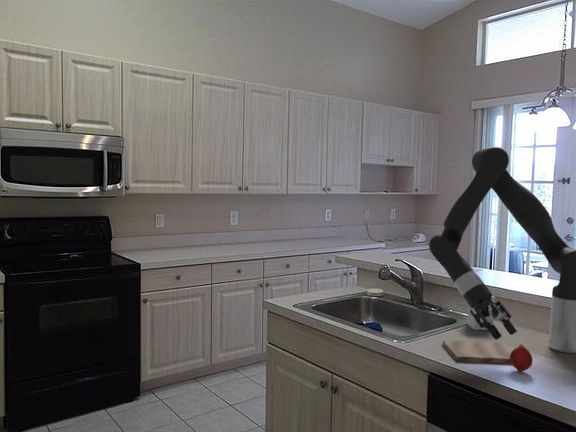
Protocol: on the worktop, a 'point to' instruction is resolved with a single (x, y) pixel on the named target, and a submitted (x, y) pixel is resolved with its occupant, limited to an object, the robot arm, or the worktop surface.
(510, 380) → the worktop surface
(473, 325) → the supplement box
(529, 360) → the onion
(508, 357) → the cutting board
